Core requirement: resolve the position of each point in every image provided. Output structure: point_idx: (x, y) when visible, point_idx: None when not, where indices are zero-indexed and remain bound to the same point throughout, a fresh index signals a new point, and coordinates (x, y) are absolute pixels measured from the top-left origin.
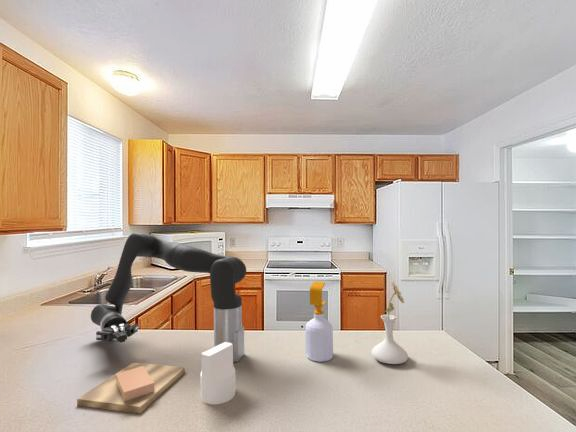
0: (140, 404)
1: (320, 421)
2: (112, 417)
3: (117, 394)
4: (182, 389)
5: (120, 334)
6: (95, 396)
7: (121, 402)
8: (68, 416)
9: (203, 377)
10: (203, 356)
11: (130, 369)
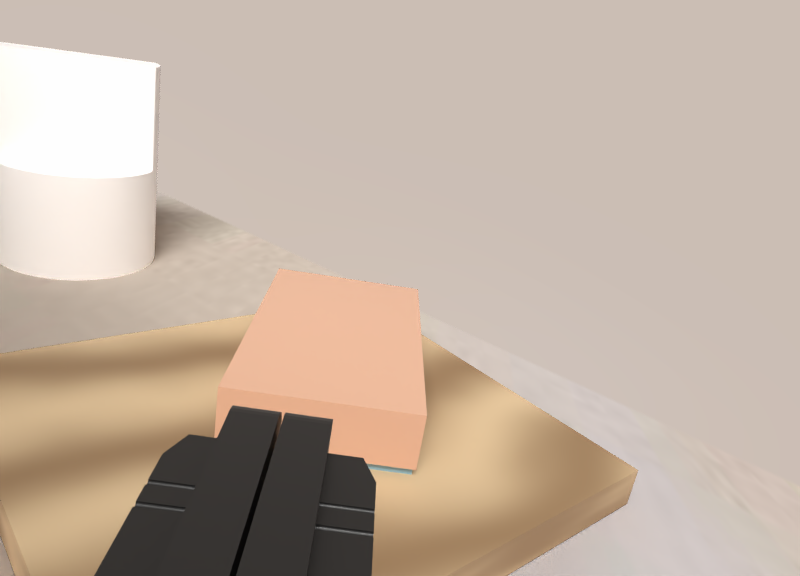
0: None
1: None
2: None
3: (425, 385)
4: (133, 322)
5: (302, 456)
6: (536, 433)
7: None
8: (639, 453)
9: (156, 165)
10: (159, 75)
11: (317, 400)
